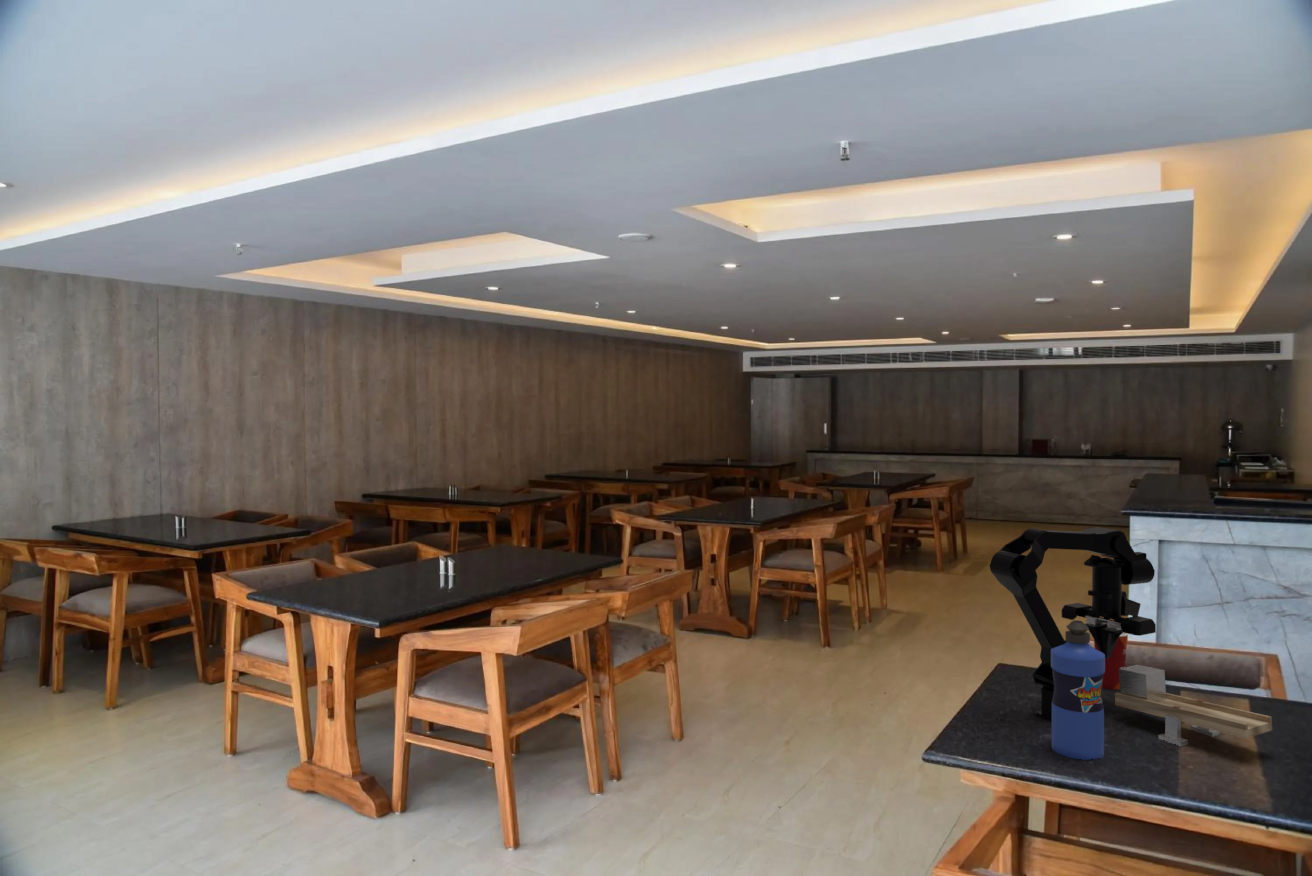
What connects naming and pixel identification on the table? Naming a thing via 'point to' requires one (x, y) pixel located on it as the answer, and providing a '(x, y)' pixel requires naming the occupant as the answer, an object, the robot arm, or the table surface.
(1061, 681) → the water bottle
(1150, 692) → the metal block
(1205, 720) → the oak beam
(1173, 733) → the pivot stand
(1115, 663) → the paper cup
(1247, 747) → the table surface
